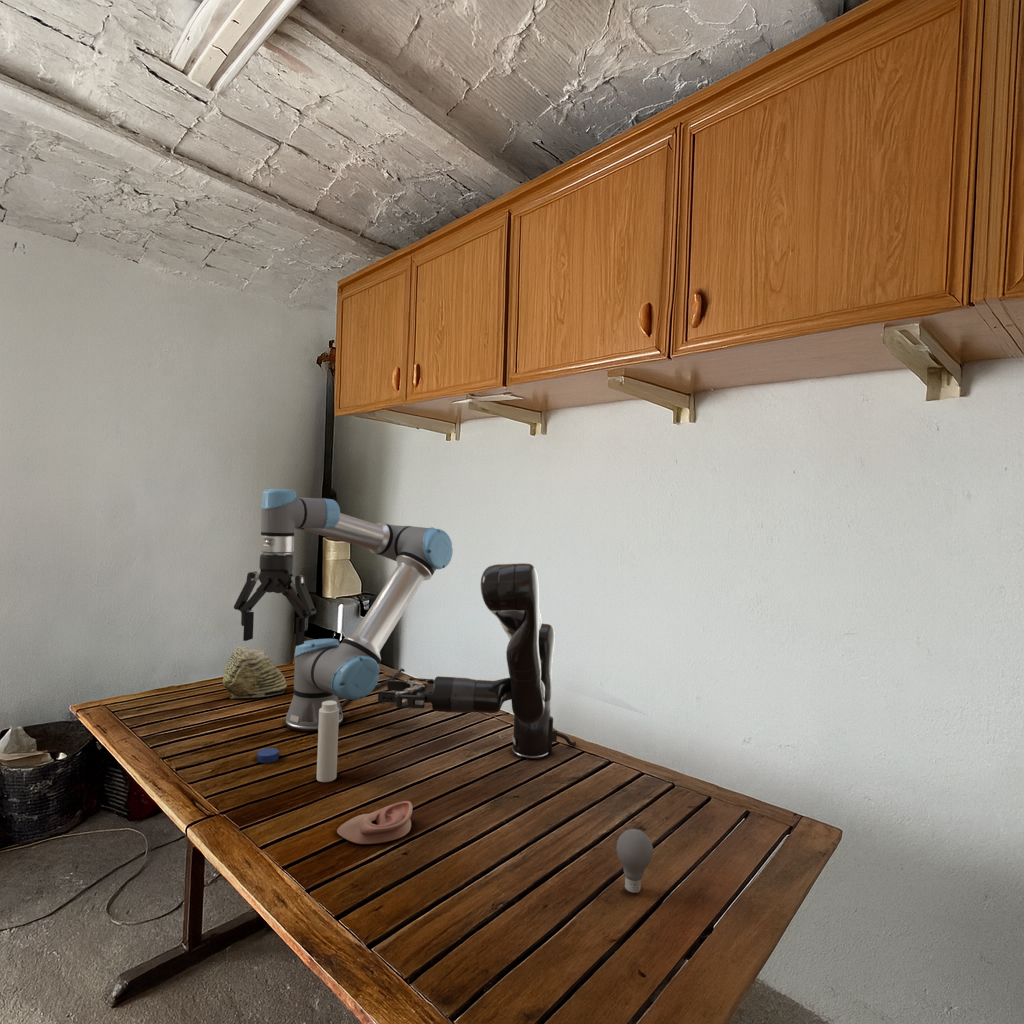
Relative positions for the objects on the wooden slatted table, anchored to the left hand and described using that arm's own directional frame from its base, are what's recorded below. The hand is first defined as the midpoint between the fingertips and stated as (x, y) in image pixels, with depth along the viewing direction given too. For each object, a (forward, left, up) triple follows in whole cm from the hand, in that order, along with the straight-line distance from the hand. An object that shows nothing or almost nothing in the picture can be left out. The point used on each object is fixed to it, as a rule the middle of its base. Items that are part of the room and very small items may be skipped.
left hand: (273, 642), depth 151 cm
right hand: (-10, +28, -8) cm, 31 cm away
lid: (0, 0, -27) cm, 27 cm away
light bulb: (-13, +90, -28) cm, 95 cm away
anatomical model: (+4, +44, -28) cm, 52 cm away
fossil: (-22, -46, -28) cm, 59 cm away
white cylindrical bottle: (-3, +18, -28) cm, 34 cm away
